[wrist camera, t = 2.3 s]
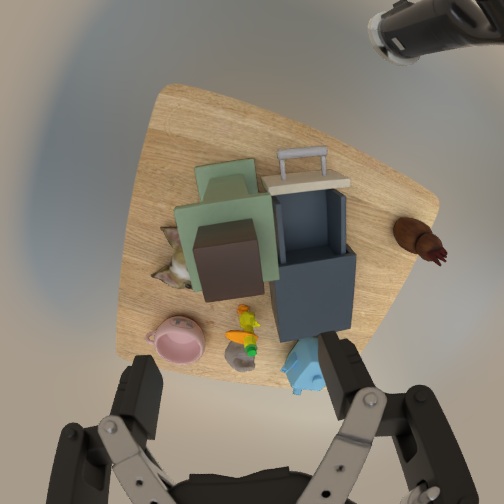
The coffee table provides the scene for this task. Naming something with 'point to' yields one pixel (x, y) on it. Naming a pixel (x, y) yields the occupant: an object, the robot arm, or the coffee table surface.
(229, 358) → the fossil
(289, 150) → the drawer
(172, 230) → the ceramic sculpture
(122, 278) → the coffee table surface
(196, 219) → the stand
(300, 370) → the teapot
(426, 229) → the wooden figurine
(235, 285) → the block
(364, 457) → the robot arm
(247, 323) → the toy figure
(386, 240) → the coffee table surface
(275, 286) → the cabinet
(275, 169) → the coffee table surface
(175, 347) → the mug
